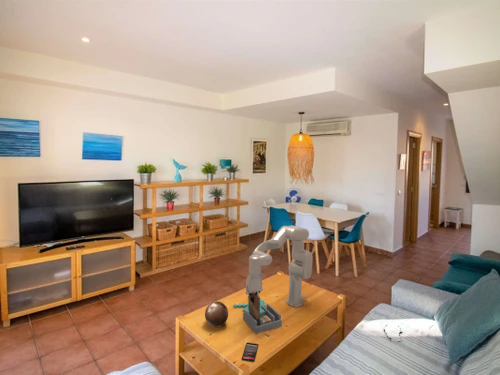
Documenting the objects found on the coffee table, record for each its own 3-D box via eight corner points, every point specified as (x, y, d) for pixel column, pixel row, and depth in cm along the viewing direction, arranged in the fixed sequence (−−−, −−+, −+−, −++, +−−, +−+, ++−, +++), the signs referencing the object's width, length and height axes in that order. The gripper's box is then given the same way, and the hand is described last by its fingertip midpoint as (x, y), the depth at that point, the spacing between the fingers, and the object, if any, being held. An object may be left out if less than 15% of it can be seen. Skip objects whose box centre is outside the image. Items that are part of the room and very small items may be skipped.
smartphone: (241, 359, 155) (246, 342, 170) (241, 361, 155) (246, 343, 170) (254, 361, 154) (258, 344, 168) (254, 363, 154) (258, 345, 168)
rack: (266, 312, 203) (267, 302, 203) (281, 326, 187) (281, 316, 186) (242, 318, 194) (243, 308, 194) (256, 333, 178) (256, 323, 178)
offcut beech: (266, 322, 191) (266, 315, 191) (270, 327, 186) (271, 319, 185) (258, 324, 188) (258, 317, 188) (262, 329, 183) (263, 322, 183)
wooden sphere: (200, 327, 183) (200, 305, 181) (213, 316, 196) (213, 295, 195) (220, 334, 176) (220, 311, 175) (232, 322, 190) (232, 300, 188)
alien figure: (233, 308, 208) (255, 318, 196) (233, 305, 208) (255, 315, 196) (249, 297, 224) (271, 306, 212) (249, 295, 224) (271, 303, 212)
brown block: (250, 309, 193) (251, 289, 191) (259, 318, 182) (260, 297, 181) (248, 310, 192) (248, 290, 190) (257, 319, 181) (257, 298, 180)
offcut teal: (259, 311, 198) (259, 307, 197) (265, 315, 193) (265, 311, 192) (253, 313, 194) (253, 309, 194) (259, 317, 189) (259, 313, 189)
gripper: (262, 270, 191) (261, 296, 193) (240, 274, 183) (240, 301, 186) (268, 274, 184) (267, 301, 187) (246, 279, 177) (245, 307, 179)
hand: (254, 301), depth 186 cm, fingers closed on brown block, 2 cm apart
